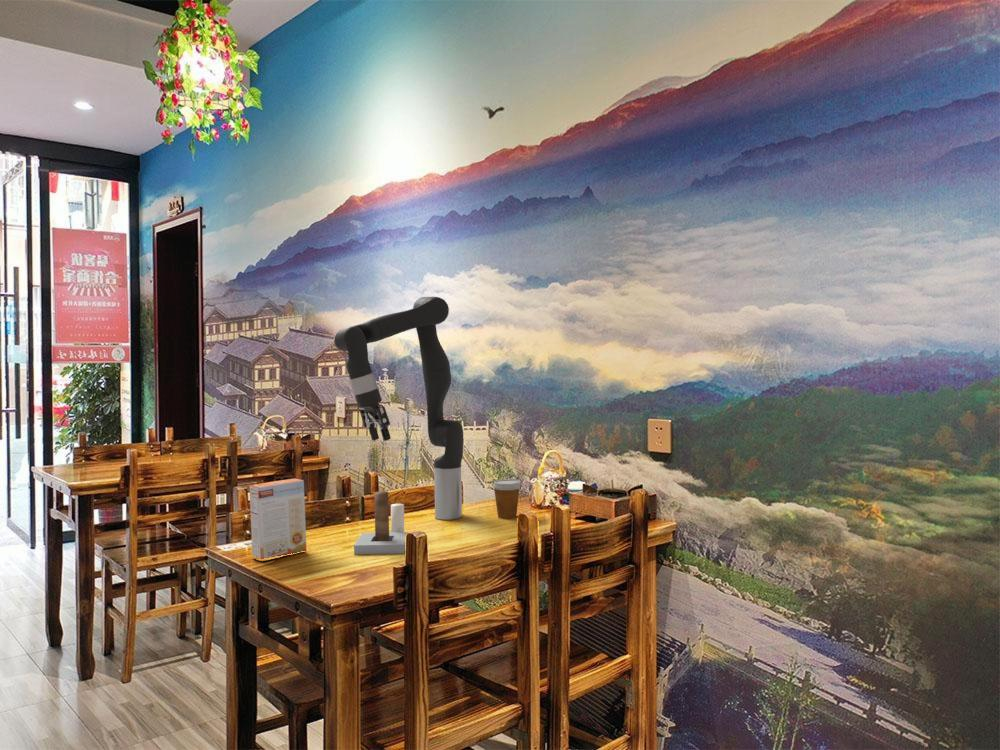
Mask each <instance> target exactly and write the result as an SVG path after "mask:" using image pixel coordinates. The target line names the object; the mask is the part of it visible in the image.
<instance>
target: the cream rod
mask: <svg viewBox="0 0 1000 750" xmlns="http://www.w3.org/2000/svg"><path fill="white" fill-rule="evenodd" d="M395 532H405V504H404V503H393V504H390V533H395Z"/></svg>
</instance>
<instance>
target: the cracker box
mask: <svg viewBox="0 0 1000 750" xmlns="http://www.w3.org/2000/svg"><path fill="white" fill-rule="evenodd" d="M305 502H306V501H305V481H304V480H303V479H298V478H290V479H289V478H287V479H283V480H274V481H269V482H262V483H257V484H251V485H249V509H250V528H251V529H250V530H251V553H252V555H253V556H255V557H258V558H260V559H264V558H269V557H275V556H281V555H287V554H291V553H292V554H293V553H297V552H301V551H306V552H307V531H306V530H307V529H306V527H307V526H306V506H305V505H306V503H305Z"/></svg>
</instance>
